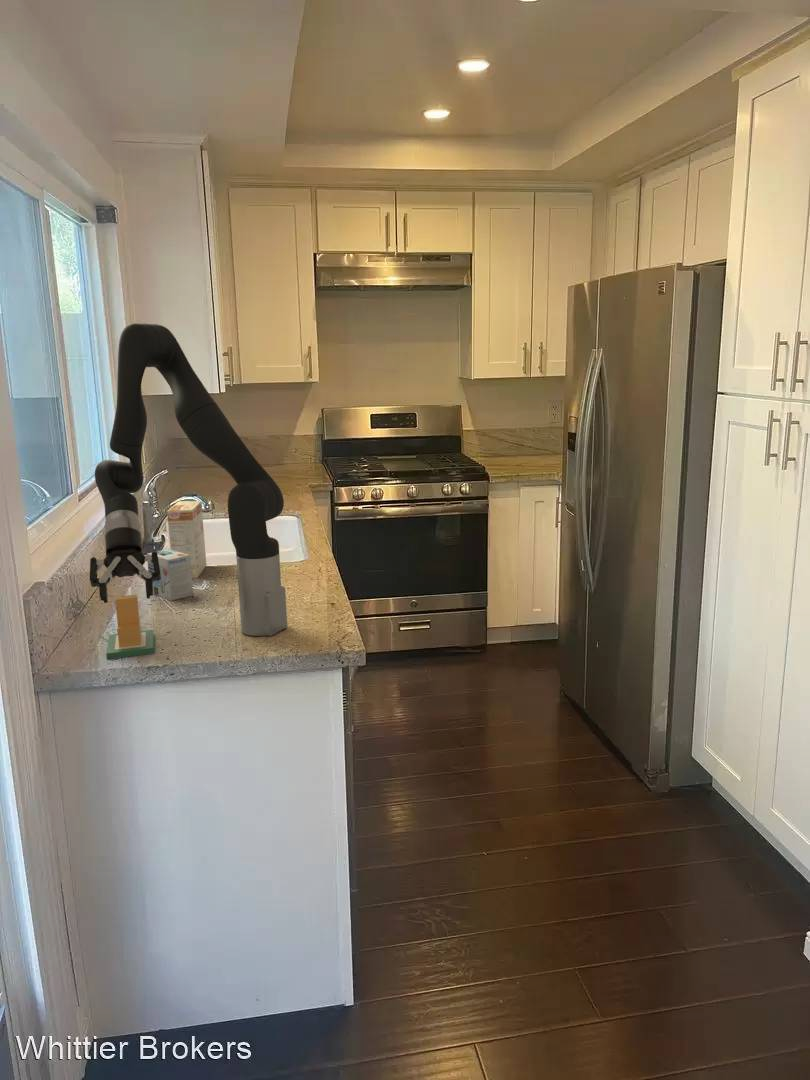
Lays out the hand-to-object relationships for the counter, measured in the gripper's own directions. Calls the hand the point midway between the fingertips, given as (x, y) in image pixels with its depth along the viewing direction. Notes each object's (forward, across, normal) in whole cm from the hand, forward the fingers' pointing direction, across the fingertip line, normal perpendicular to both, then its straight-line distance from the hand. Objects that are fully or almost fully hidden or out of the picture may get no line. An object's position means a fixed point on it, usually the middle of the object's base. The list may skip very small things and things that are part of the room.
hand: (127, 599), depth 163 cm
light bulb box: (-18, +9, +32) cm, 37 cm away
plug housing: (+7, 0, +5) cm, 8 cm away
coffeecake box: (-33, +15, +46) cm, 59 cm away
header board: (+9, 0, +5) cm, 10 cm away
